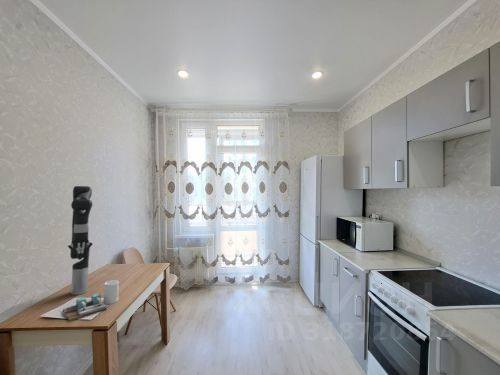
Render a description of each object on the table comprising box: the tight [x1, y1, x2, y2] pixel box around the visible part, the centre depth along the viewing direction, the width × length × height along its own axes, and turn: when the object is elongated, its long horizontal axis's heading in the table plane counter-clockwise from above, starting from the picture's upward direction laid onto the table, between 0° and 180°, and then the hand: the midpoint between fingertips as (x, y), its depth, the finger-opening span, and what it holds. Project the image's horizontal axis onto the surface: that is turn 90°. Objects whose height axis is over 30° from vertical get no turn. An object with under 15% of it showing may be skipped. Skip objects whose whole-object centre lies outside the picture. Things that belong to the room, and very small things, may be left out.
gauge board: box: [62, 300, 107, 323], centre depth 138 cm, size 16×18×3 cm
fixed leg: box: [90, 292, 102, 305], centre depth 144 cm, size 10×4×5 cm, turn 49°
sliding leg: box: [75, 296, 87, 310], centre depth 138 cm, size 10×4×5 cm, turn 49°
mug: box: [102, 279, 120, 305], centre depth 153 cm, size 12×8×12 cm
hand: (79, 259), depth 144 cm, fingers closed
